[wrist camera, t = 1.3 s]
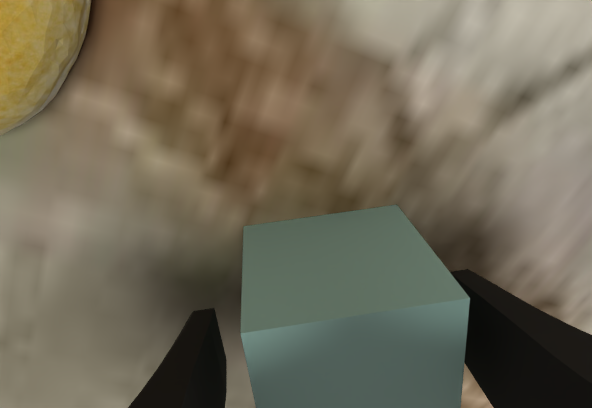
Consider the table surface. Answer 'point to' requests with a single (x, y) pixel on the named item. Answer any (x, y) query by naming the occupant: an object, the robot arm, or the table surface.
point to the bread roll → (36, 53)
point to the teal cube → (350, 314)
